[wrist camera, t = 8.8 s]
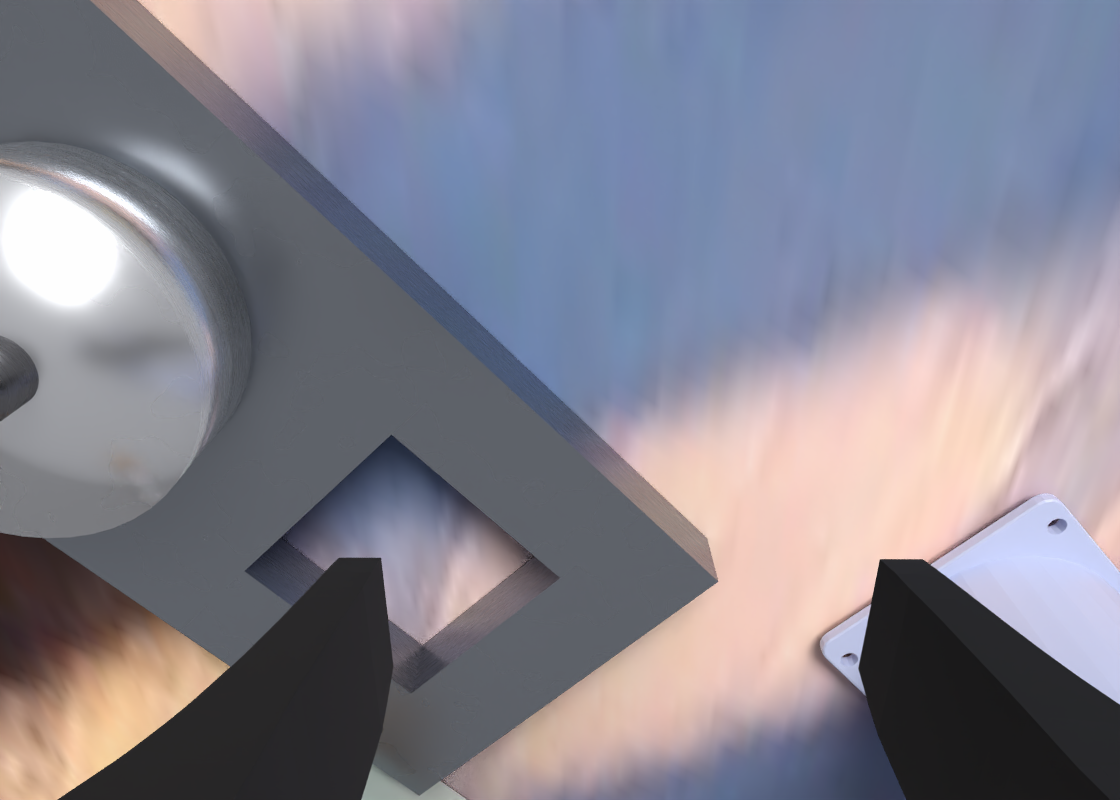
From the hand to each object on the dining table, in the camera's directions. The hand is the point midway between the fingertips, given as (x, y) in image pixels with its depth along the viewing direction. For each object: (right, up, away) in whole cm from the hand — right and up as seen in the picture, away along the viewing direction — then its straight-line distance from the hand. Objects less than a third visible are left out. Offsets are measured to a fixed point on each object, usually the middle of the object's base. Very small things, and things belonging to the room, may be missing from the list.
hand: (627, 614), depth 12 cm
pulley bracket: (-9, +3, +10) cm, 14 cm away
